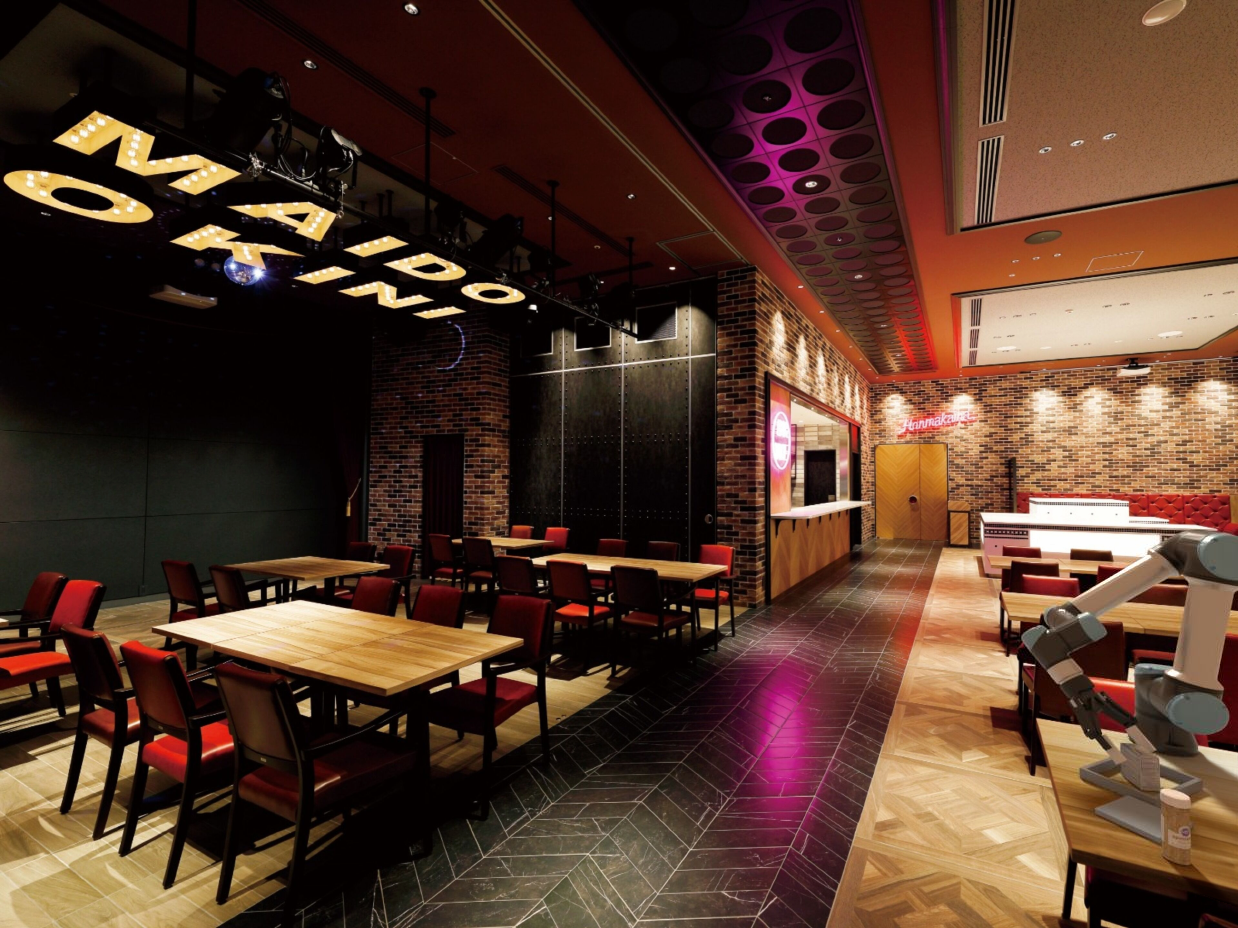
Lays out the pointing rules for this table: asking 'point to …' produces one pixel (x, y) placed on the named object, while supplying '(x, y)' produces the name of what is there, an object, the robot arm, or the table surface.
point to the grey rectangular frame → (1092, 775)
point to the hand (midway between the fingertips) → (1137, 757)
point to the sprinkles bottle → (1175, 826)
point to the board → (1134, 816)
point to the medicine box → (1140, 767)
